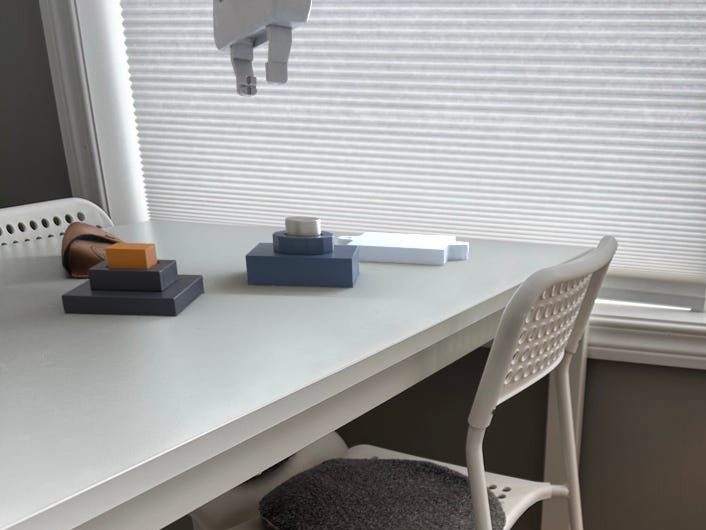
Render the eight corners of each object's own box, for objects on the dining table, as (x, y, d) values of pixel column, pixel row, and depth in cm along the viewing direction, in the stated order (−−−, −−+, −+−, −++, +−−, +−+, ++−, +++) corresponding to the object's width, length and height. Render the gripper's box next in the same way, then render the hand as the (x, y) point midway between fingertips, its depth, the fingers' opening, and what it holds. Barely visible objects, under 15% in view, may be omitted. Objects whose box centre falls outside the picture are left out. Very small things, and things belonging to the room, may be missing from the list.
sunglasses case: (143, 272, 110) (103, 218, 106) (93, 306, 110) (51, 254, 106) (133, 248, 125) (98, 201, 121) (89, 279, 124) (52, 232, 120)
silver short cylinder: (283, 239, 109) (282, 220, 108) (288, 234, 112) (287, 215, 111) (318, 240, 109) (317, 221, 108) (322, 235, 113) (321, 217, 112)
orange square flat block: (108, 271, 88) (104, 248, 87) (119, 265, 91) (116, 242, 90) (148, 272, 88) (144, 249, 87) (157, 266, 91) (154, 243, 90)
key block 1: (67, 331, 86) (56, 274, 84) (107, 305, 97) (98, 253, 94) (178, 334, 87) (171, 277, 84) (206, 307, 97) (200, 256, 95)
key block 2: (247, 285, 109) (243, 238, 106) (261, 270, 117) (258, 226, 115) (352, 288, 109) (351, 241, 107) (359, 273, 118) (358, 229, 115)
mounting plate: (472, 251, 136) (473, 237, 135) (462, 266, 125) (463, 250, 124) (349, 245, 137) (348, 231, 136) (328, 259, 126) (327, 243, 125)
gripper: (193, -51, 100) (203, 98, 105) (256, -108, 84) (264, 71, 89) (252, -39, 103) (258, 105, 108) (323, -93, 87) (327, 80, 92)
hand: (261, 90), depth 98 cm, fingers open, 8 cm apart
